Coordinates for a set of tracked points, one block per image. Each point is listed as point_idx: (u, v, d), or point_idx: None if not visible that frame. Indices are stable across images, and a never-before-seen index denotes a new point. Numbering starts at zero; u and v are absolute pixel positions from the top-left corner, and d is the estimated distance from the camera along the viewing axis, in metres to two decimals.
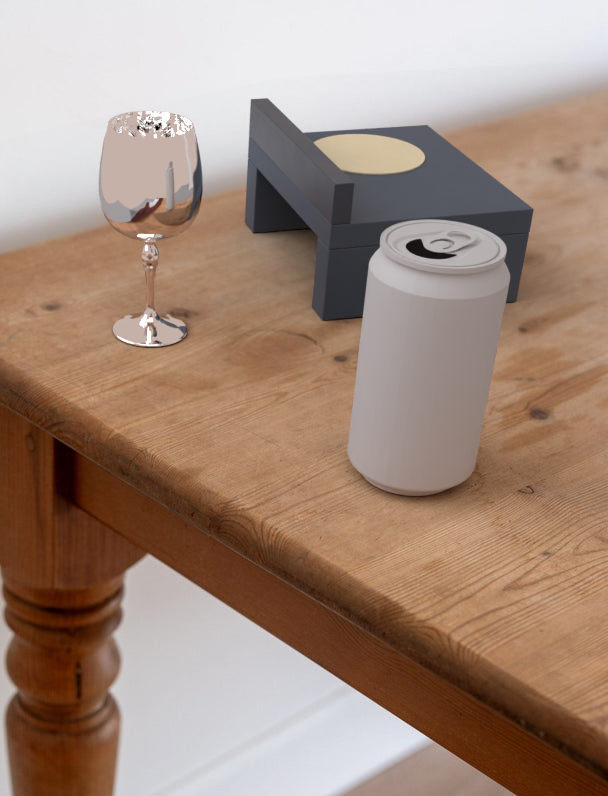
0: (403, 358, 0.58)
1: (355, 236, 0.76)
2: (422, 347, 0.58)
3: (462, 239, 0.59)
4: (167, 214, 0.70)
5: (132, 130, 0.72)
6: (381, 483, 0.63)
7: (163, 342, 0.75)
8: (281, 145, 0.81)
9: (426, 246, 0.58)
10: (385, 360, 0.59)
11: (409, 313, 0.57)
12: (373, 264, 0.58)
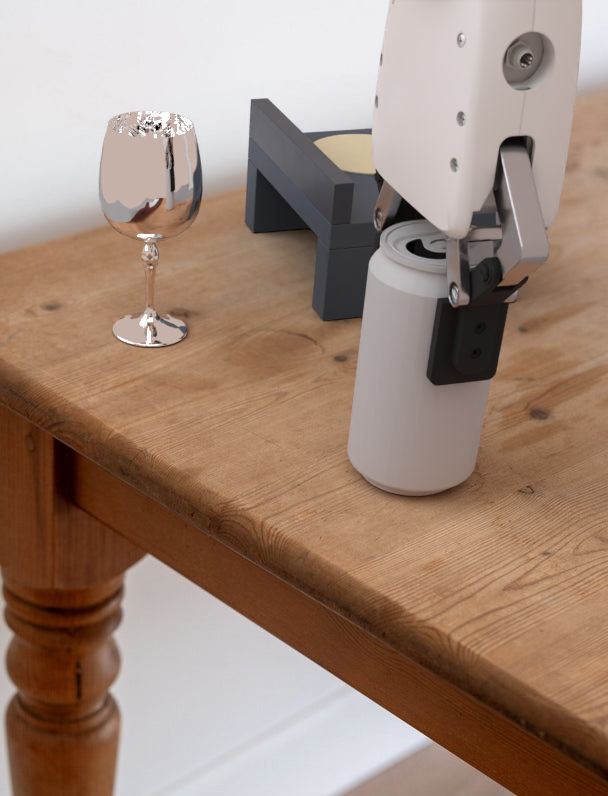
0: (403, 358, 0.58)
1: (355, 236, 0.76)
2: (422, 347, 0.58)
3: None
4: (167, 214, 0.70)
5: (132, 130, 0.72)
6: (381, 483, 0.63)
7: (163, 342, 0.75)
8: (281, 145, 0.81)
9: (426, 246, 0.58)
10: (385, 360, 0.59)
11: (409, 313, 0.57)
12: (373, 264, 0.58)
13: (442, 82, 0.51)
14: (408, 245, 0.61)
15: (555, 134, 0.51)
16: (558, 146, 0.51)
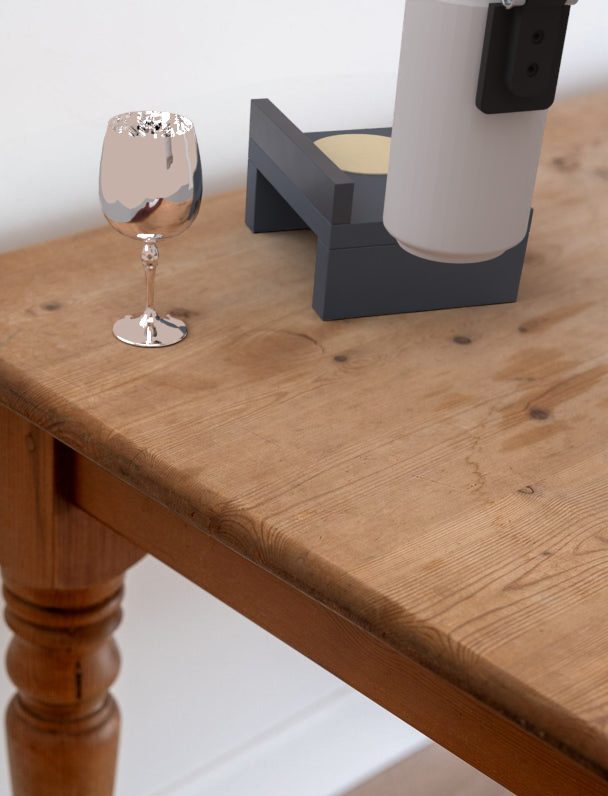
0: (448, 87, 0.52)
1: (355, 236, 0.76)
2: (469, 71, 0.51)
3: None
4: (167, 214, 0.70)
5: (132, 130, 0.72)
6: (422, 247, 0.56)
7: (163, 342, 0.75)
8: (281, 145, 0.81)
9: None
10: (426, 94, 0.52)
11: (455, 29, 0.50)
12: None
13: None
14: None
15: None
16: None
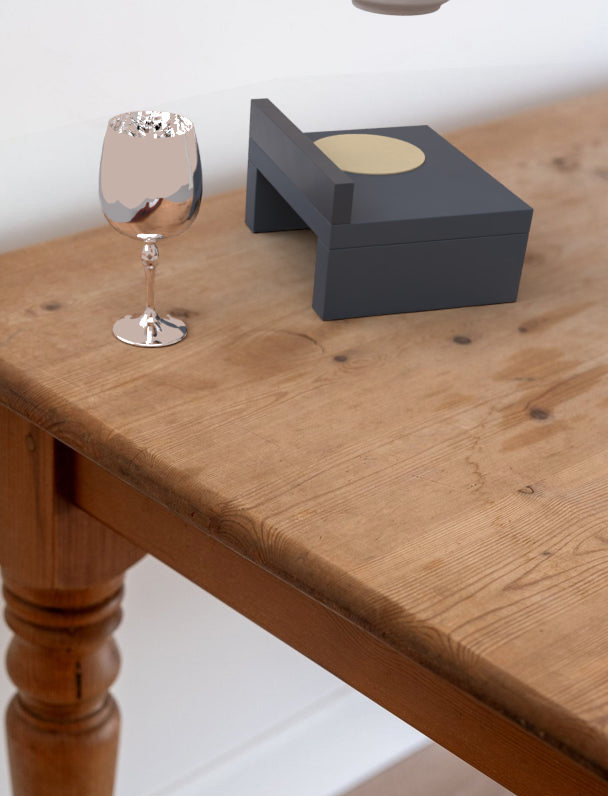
0: None
1: (355, 236, 0.76)
2: None
3: None
4: (167, 214, 0.70)
5: (132, 130, 0.72)
6: (372, 1, 0.71)
7: (163, 342, 0.75)
8: (281, 145, 0.81)
9: None
10: None
11: None
12: None
13: None
14: None
15: None
16: None
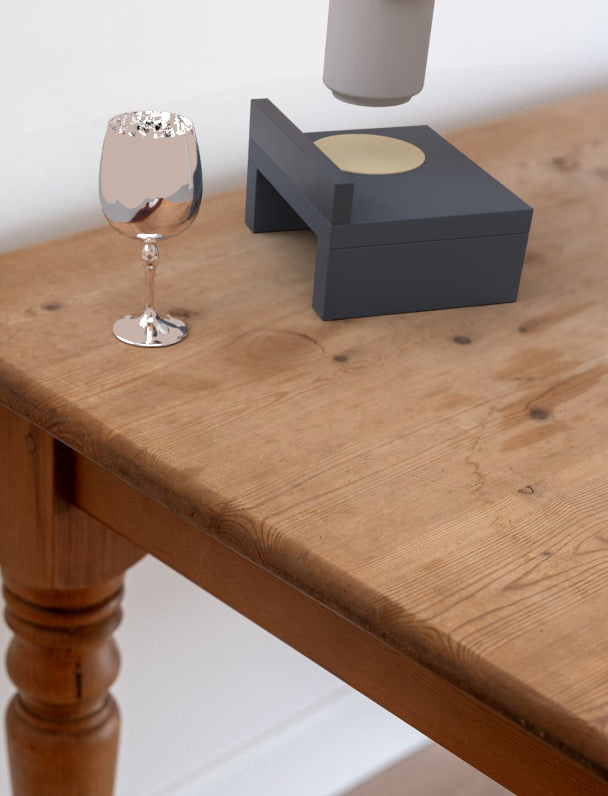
0: None
1: (355, 236, 0.76)
2: None
3: None
4: (167, 214, 0.70)
5: (132, 130, 0.72)
6: (348, 94, 0.80)
7: (163, 342, 0.75)
8: (281, 145, 0.81)
9: None
10: None
11: None
12: None
13: None
14: None
15: None
16: None
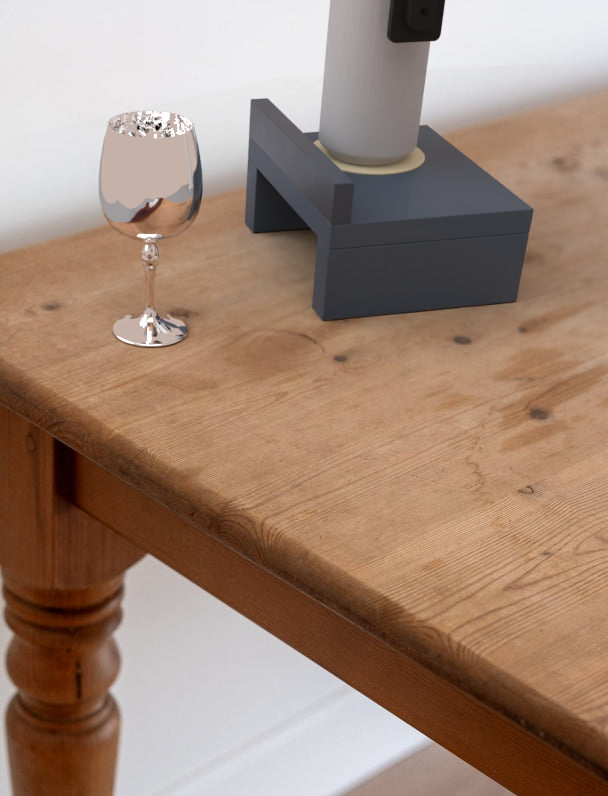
0: (358, 41, 0.78)
1: (355, 236, 0.76)
2: (371, 30, 0.77)
3: None
4: (167, 214, 0.70)
5: (132, 130, 0.72)
6: (343, 153, 0.82)
7: (163, 342, 0.75)
8: (281, 145, 0.81)
9: None
10: (344, 46, 0.79)
11: (361, 3, 0.77)
12: None
13: None
14: None
15: None
16: None
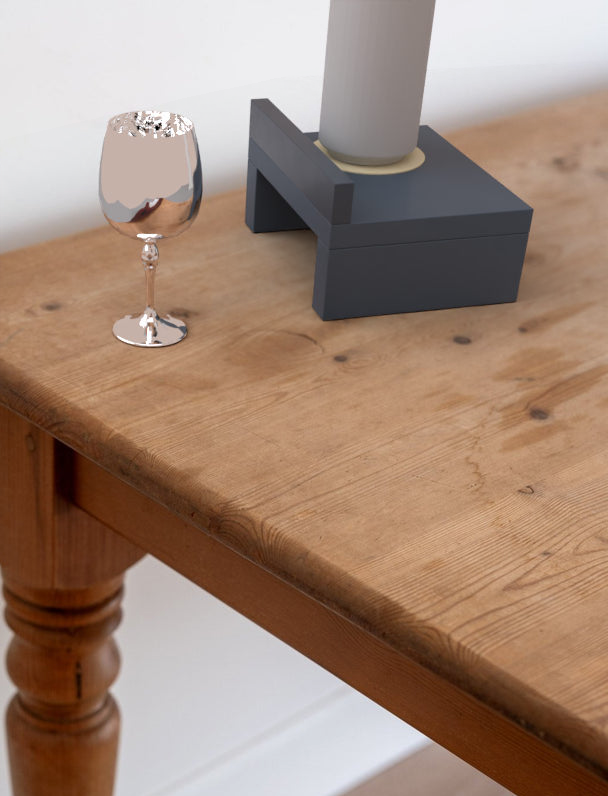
0: (358, 41, 0.78)
1: (355, 236, 0.76)
2: (371, 30, 0.77)
3: None
4: (167, 214, 0.70)
5: (132, 130, 0.72)
6: (343, 153, 0.82)
7: (163, 342, 0.75)
8: (281, 145, 0.81)
9: None
10: (344, 46, 0.79)
11: (361, 3, 0.77)
12: None
13: None
14: None
15: None
16: None
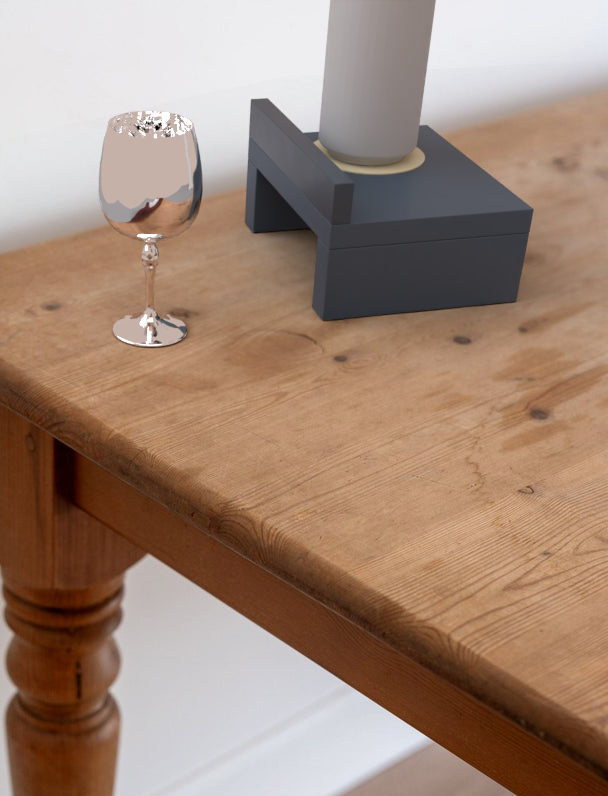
0: (358, 41, 0.78)
1: (355, 236, 0.76)
2: (371, 30, 0.77)
3: None
4: (167, 214, 0.70)
5: (132, 130, 0.72)
6: (343, 153, 0.82)
7: (163, 342, 0.75)
8: (281, 145, 0.81)
9: None
10: (344, 46, 0.79)
11: (361, 3, 0.77)
12: None
13: None
14: None
15: None
16: None
